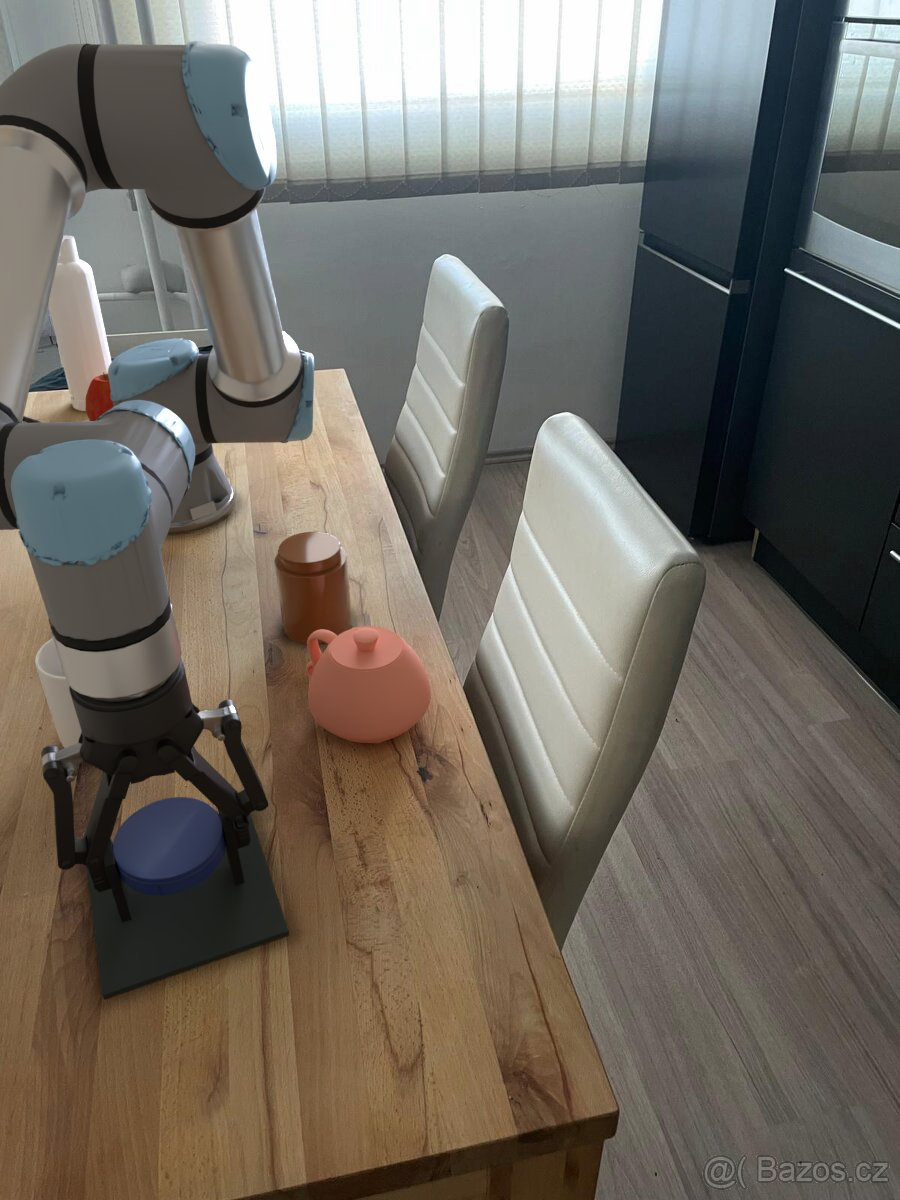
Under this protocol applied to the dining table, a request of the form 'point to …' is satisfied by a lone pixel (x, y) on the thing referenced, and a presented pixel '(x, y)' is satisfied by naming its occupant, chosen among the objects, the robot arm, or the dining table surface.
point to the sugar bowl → (366, 684)
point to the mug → (58, 694)
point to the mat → (186, 924)
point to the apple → (98, 397)
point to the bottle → (78, 323)
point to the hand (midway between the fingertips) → (181, 889)
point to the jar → (313, 585)
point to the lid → (169, 846)
